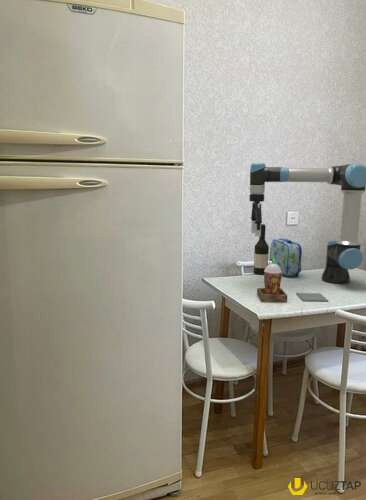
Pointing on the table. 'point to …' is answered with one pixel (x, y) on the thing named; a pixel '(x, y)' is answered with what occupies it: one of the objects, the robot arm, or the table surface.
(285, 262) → the lunch box
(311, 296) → the coaster
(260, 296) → the tray
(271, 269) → the smoothie
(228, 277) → the table surface
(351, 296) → the table surface
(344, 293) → the table surface
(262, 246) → the wine bottle
